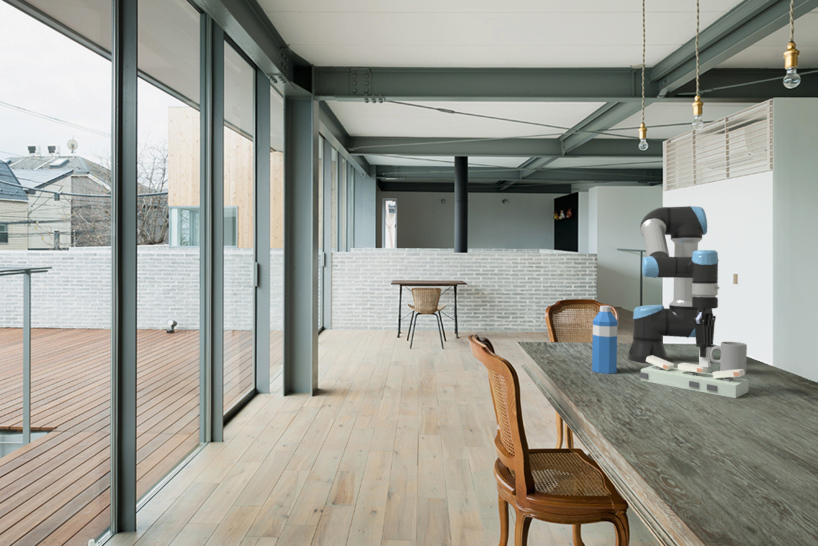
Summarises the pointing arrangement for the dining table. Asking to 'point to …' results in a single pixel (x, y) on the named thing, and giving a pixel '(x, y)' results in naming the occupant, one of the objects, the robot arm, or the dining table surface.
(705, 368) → the rocker middle
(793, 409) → the dining table surface
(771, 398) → the dining table surface
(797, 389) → the dining table surface
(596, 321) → the water bottle
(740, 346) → the mug
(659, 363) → the block
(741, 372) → the rocker right
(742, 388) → the switch unit
